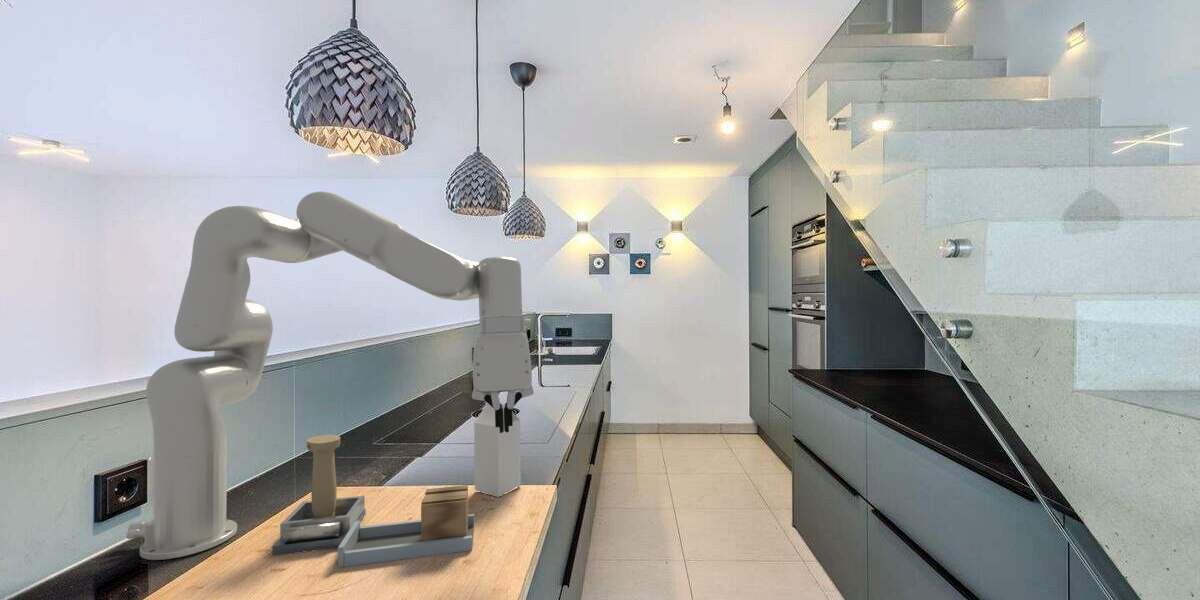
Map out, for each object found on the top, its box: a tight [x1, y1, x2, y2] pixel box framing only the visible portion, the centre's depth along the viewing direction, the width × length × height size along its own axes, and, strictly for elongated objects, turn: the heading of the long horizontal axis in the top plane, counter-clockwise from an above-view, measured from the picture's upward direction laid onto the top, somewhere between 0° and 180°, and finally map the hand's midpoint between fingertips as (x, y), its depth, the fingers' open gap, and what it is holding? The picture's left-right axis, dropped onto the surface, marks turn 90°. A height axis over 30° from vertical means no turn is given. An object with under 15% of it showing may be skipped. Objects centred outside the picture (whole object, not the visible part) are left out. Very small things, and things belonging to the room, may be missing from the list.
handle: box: [306, 434, 341, 519], centre depth 83 cm, size 5×6×15 cm
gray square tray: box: [271, 495, 367, 557], centre depth 82 cm, size 11×12×4 cm
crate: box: [420, 484, 469, 542], centre depth 79 cm, size 7×7×7 cm
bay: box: [337, 513, 475, 568], centre depth 78 cm, size 20×9×3 cm, turn 103°
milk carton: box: [473, 401, 522, 498], centre depth 102 cm, size 7×7×19 cm
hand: (504, 430), depth 82 cm, fingers closed
